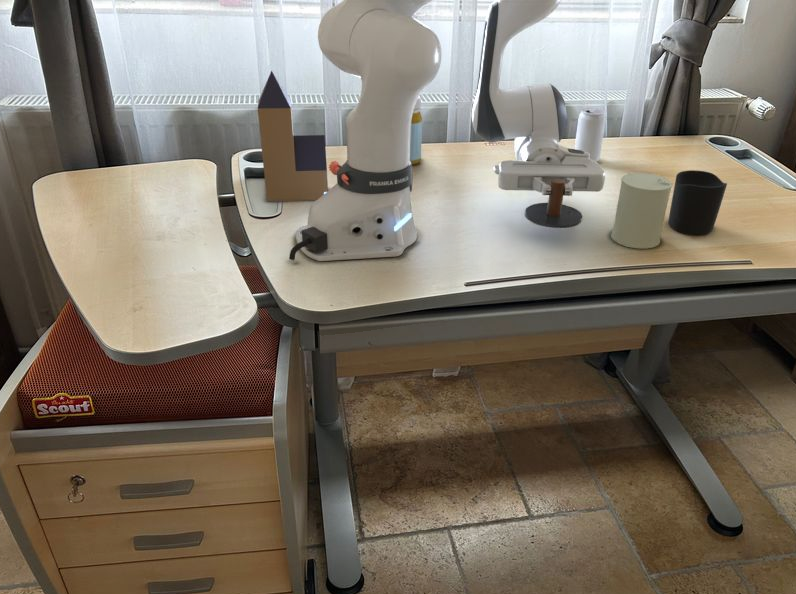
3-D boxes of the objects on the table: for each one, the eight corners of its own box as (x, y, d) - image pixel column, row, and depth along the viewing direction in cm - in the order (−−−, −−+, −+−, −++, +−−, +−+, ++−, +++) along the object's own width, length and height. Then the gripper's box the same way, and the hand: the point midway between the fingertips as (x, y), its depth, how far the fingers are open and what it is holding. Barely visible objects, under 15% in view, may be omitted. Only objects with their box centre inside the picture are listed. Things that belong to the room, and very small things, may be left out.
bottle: (425, 164, 169) (426, 99, 161) (397, 167, 167) (397, 101, 159) (414, 155, 175) (416, 91, 166) (387, 157, 172) (387, 93, 164)
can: (661, 251, 133) (675, 189, 127) (610, 245, 135) (622, 184, 128) (658, 231, 141) (671, 172, 134) (610, 226, 142) (621, 167, 136)
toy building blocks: (267, 201, 147) (254, 74, 134) (269, 170, 163) (257, 53, 149) (328, 199, 149) (321, 74, 136) (324, 168, 165) (318, 53, 151)
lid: (542, 231, 129) (547, 194, 125) (514, 209, 137) (518, 173, 133) (593, 224, 133) (599, 187, 129) (562, 202, 141) (567, 168, 137)
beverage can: (568, 157, 177) (574, 107, 170) (591, 155, 179) (599, 106, 172) (580, 165, 172) (587, 115, 165) (603, 164, 174) (612, 113, 167)
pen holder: (719, 224, 145) (732, 176, 139) (708, 240, 138) (721, 191, 133) (672, 214, 149) (683, 167, 143) (660, 229, 142) (670, 180, 136)
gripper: (493, 149, 140) (503, 173, 129) (596, 151, 142) (614, 175, 130) (490, 180, 144) (500, 207, 132) (591, 182, 145) (608, 208, 134)
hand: (558, 191), depth 131 cm, fingers closed on lid, 2 cm apart
